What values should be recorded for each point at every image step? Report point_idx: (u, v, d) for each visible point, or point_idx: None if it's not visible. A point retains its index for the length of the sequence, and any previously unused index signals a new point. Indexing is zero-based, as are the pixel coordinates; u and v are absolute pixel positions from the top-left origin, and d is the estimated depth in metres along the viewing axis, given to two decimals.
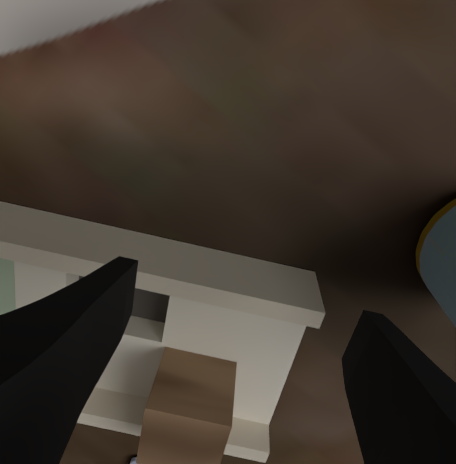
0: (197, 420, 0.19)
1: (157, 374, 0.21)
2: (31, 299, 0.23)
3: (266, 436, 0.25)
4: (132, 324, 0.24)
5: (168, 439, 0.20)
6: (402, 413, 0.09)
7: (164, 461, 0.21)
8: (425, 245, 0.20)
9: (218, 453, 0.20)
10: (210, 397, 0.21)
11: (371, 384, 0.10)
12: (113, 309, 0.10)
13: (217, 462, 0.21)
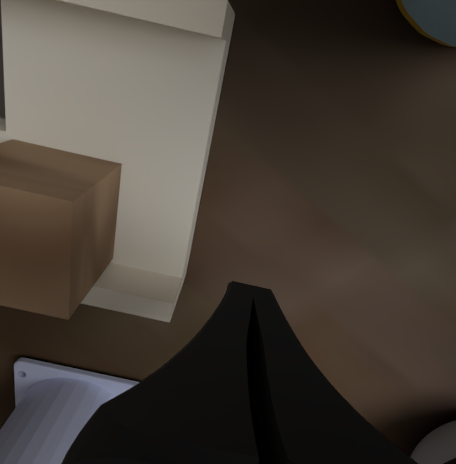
0: (14, 190, 0.11)
1: None
2: None
3: (174, 288, 0.17)
4: None
5: None
6: (253, 381, 0.09)
7: None
8: None
9: (63, 263, 0.12)
10: (53, 178, 0.13)
11: None
12: None
13: (65, 282, 0.13)
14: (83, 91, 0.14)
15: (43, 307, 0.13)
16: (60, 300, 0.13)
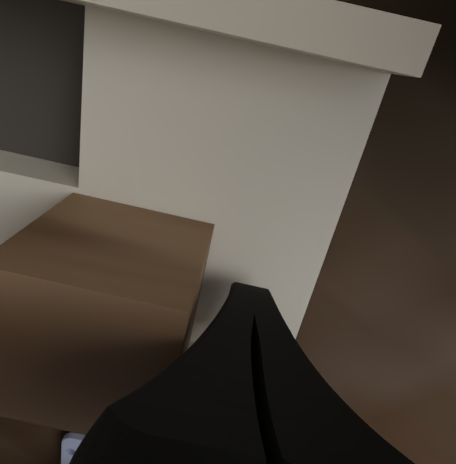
0: (104, 295, 0.08)
1: (37, 221, 0.10)
2: None
3: None
4: (28, 164, 0.13)
5: (44, 349, 0.09)
6: None
7: (48, 408, 0.09)
8: None
9: None
10: (146, 262, 0.09)
11: None
12: None
13: None
14: (186, 139, 0.11)
15: None
16: None
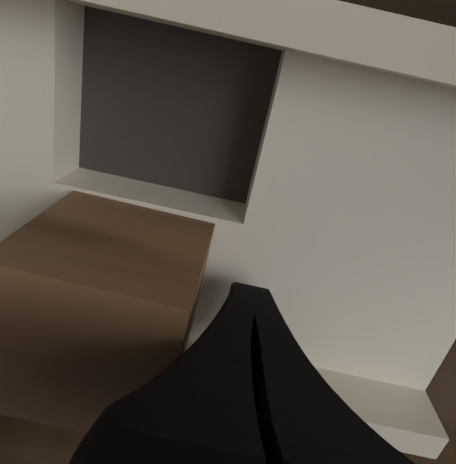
0: (105, 293, 0.08)
1: (37, 218, 0.10)
2: None
3: (430, 410, 0.13)
4: (182, 198, 0.13)
5: (43, 347, 0.09)
6: None
7: (46, 406, 0.09)
8: None
9: None
10: (147, 261, 0.09)
11: None
12: None
13: None
14: (363, 178, 0.11)
15: None
16: None
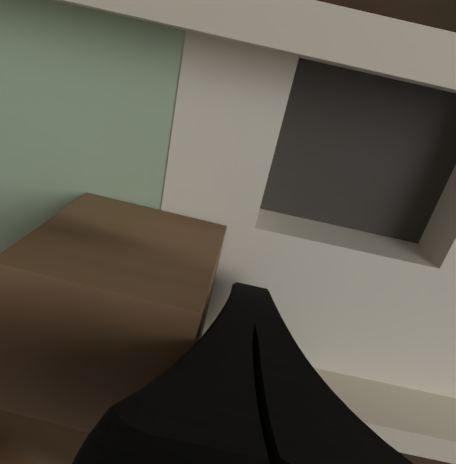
0: (116, 295, 0.08)
1: (51, 220, 0.10)
2: (197, 181, 0.11)
3: None
4: (366, 240, 0.13)
5: (56, 348, 0.09)
6: None
7: (58, 407, 0.09)
8: None
9: None
10: (159, 263, 0.09)
11: None
12: None
13: None
14: None
15: None
16: None
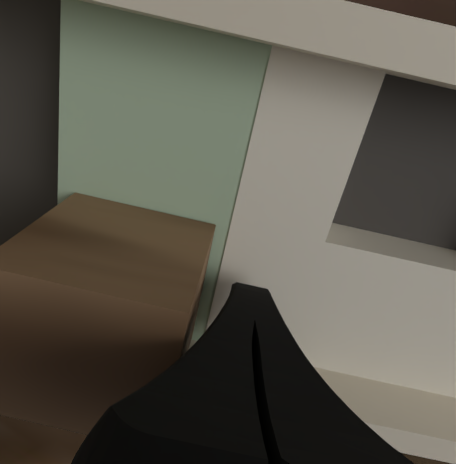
0: (104, 296, 0.08)
1: (38, 221, 0.10)
2: (270, 195, 0.11)
3: None
4: (431, 253, 0.13)
5: (44, 350, 0.09)
6: None
7: (48, 408, 0.09)
8: None
9: None
10: (147, 263, 0.09)
11: None
12: None
13: None
14: None
15: None
16: None
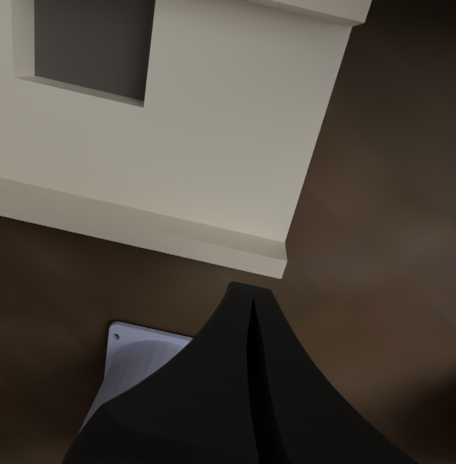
0: None
1: None
2: None
3: (282, 249, 0.19)
4: (105, 95, 0.18)
5: None
6: (253, 381, 0.09)
7: None
8: None
9: None
10: None
11: None
12: None
13: None
14: (218, 71, 0.16)
15: None
16: None
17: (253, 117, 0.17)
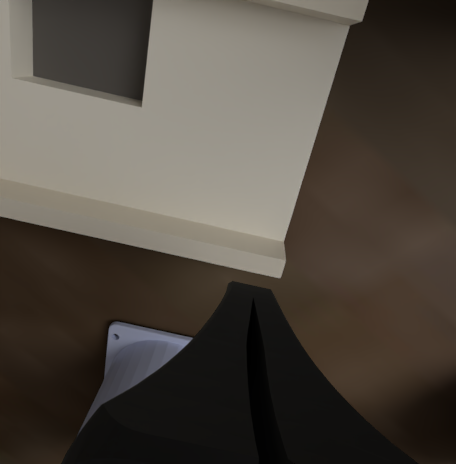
0: None
1: None
2: None
3: (281, 249, 0.19)
4: (104, 95, 0.18)
5: None
6: (253, 381, 0.09)
7: None
8: None
9: None
10: None
11: None
12: None
13: None
14: (216, 71, 0.16)
15: None
16: None
17: (251, 116, 0.17)
